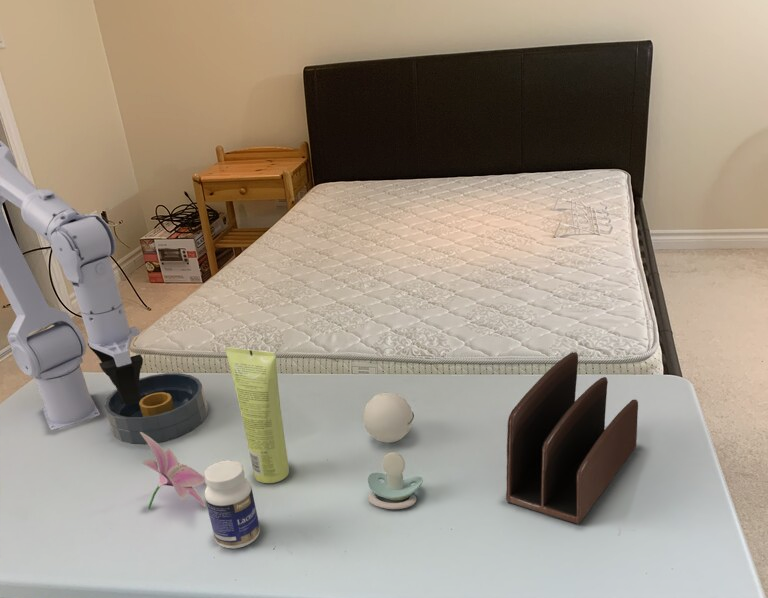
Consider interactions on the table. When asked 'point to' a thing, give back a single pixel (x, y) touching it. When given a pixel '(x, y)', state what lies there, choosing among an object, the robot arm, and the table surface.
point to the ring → (156, 404)
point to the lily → (173, 472)
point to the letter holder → (565, 444)
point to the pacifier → (393, 484)
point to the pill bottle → (231, 505)
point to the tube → (260, 411)
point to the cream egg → (388, 417)
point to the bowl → (164, 425)
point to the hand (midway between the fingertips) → (126, 392)
